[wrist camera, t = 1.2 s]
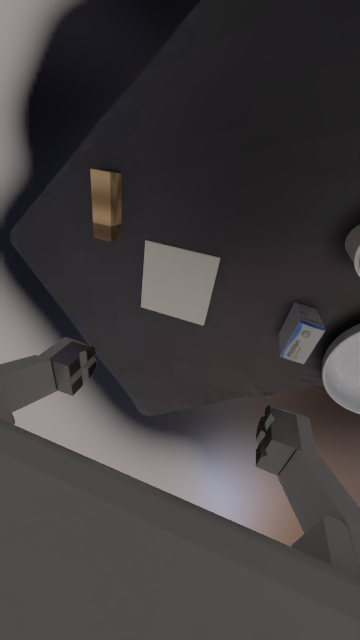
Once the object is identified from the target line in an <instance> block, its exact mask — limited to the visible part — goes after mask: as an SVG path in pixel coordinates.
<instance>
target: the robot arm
mask: <svg viewBox="0 0 360 640" xmlns="http://www.w3.org/2000/svg"><path fill="white" fill-rule="evenodd" d="M95 354H96V351H95V348H94V347H93V346H90V345H87V344H85V343H82V342H79V341H76V340H73V339H70V338H67V337H66V338H63V339H61V340H60V341H58V342H57V343H56V344H54V345H53V346H51V347H50V348H49V349H47V350H46V351H44V352H43V353H42V354H40V355H39V356H37V355H34V356H30V357H26V358H23V359H19V360H15V361H12V362H8V363H4V364H0V640H360V508H359V507H358V505H357V504H356V503H355V501H354V500H353V499H352V497H351V496H350V495H349V493H348V492H347V491H346V489H345V488H344V487H343V486H342V484H341V483H340V482H339V480H338V479H337V478H336V476H335V475H334V474H333V472H332V471H331V470H330V469H329V467H328V466H327V465H326V463H325V462H324V461H323V459H321V458H320V457H317V452H316V448H315V444H314V439H313V435H312V430H311V425H310V421H309V419H308V417H305V416H302V415H298V414H296V413H293V412H290V411H286V410H283V409H280V408H277V407H274V406H271V405H268V406H267V407H266V409H265V416H264V417H261V419H260V421H259V424H258V428H257V433H256V440H257V442H258V444H259V446H258V447H257V449H256V467H258V468H261V469H263V470H266V471H268V472H270V473H273V474H275V475H277V476H278V479H279V481H280V483H281V485H282V487H283V489H284V491H285V493H286V496H287V498H288V500H289V502H290V504H291V506H292V508H293V510H294V512H295V515H296V517H297V519H298V521H299V523H300V525H301V527H302V529H303V531H304V535H303V536H302V537H301V538H299V539H298V540H297V541H296V542H295V543H294V544H292V547H290V546H287V545H285V544H283V543H281V542H278V541H276V540H274V539H271V538H269V537H267V536H265V535H263V534H260V533H258V532H256V531H253V530H251V529H249V528H247V527H244V526H242V525H240V524H237V523H235V522H233V521H231V520H228V519H226V518H224V517H222V516H219V515H217V514H215V513H213V512H210V511H208V510H206V509H203V508H201V507H199V506H197V505H194V504H192V503H190V502H188V501H185V500H183V499H181V498H179V497H176V496H174V495H172V494H169V493H167V492H165V491H162V490H160V489H158V488H156V487H153V486H151V485H149V484H147V483H144V482H142V481H140V480H137V479H135V478H133V477H131V476H129V475H126V474H124V473H122V472H120V471H117V470H115V469H113V468H111V467H108V466H106V465H104V464H101V463H99V462H97V461H95V460H92V459H90V458H88V457H85V456H83V455H81V454H79V453H76V452H74V451H72V450H70V449H67V448H65V447H63V446H61V445H58V444H56V443H54V442H51V441H49V440H47V439H44V438H42V437H40V436H38V435H36V434H33V433H30V432H29V431H26V430H24V429H22V428H20V427H17V426H15V425H14V424H15V420H14V417H13V415H12V412H14V411H16V410H18V409H20V408H23V407H25V406H27V405H29V404H31V403H33V402H35V401H37V400H39V399H41V398H43V397H46V396H48V395H50V394H52V393H54V392H56V391H57V390H59V391H61V392H64V393H67V394H69V395H72V396H73V395H74V394H75V393H76V392H77V391H78V390H79V389H80V388H81V386H83V381H84V380H87V379H89V378H90V377H91V376H92V375H93V373H94V371H95V369H96V359H95V358H94V357H93V356H94V355H95Z"/></svg>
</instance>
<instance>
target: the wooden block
mask: <svg viewBox="0 0 360 640" xmlns="http://www.w3.org/2000/svg"><path fill="white" fill-rule="evenodd" d="M90 171H91V191H92V211H93V231H94V238H97V239H101V240H105V241H109V242H112V241H115V240H118V239H121V205H122V174H120V173H115V172H109V171H104V170H96V169H90Z"/></svg>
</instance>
